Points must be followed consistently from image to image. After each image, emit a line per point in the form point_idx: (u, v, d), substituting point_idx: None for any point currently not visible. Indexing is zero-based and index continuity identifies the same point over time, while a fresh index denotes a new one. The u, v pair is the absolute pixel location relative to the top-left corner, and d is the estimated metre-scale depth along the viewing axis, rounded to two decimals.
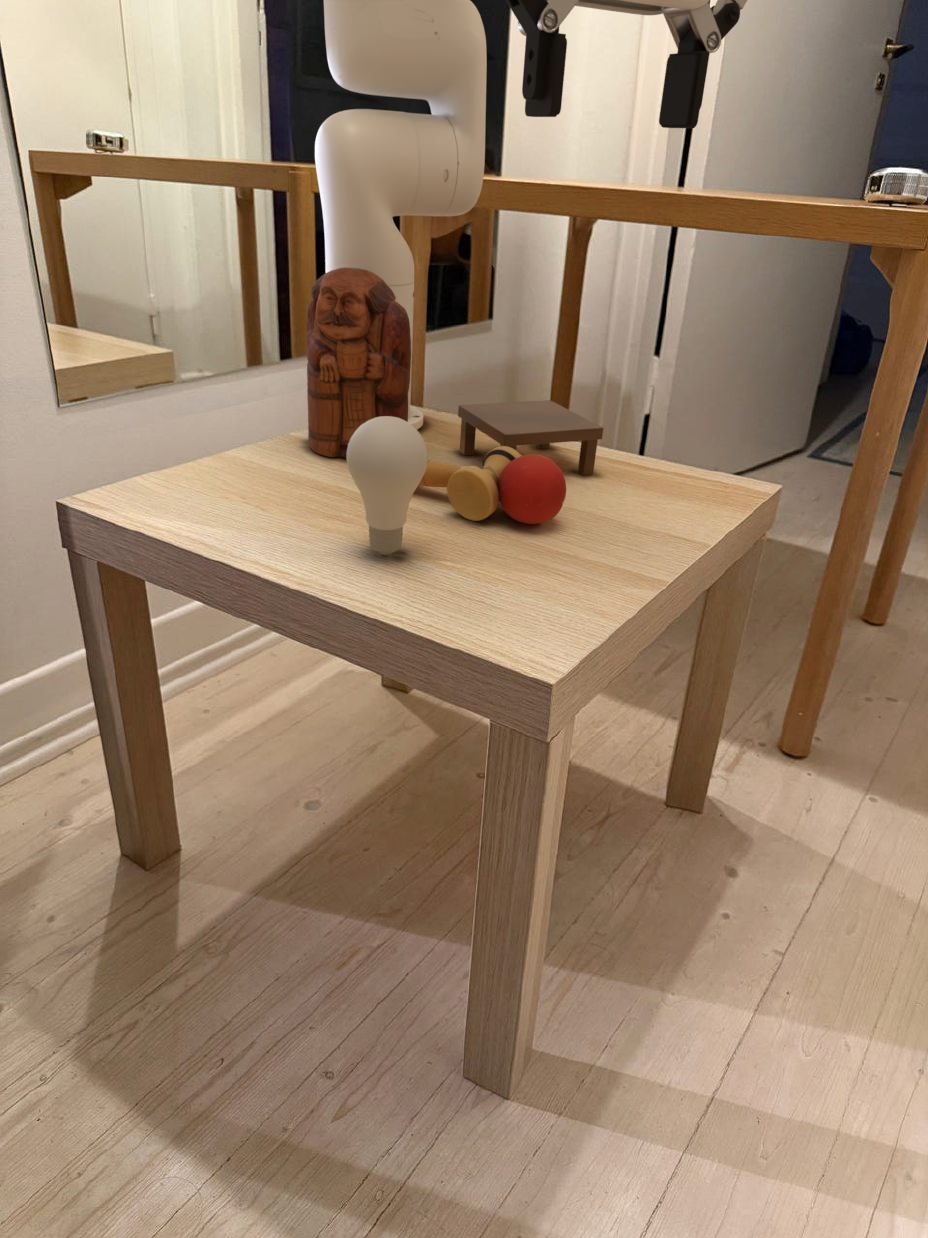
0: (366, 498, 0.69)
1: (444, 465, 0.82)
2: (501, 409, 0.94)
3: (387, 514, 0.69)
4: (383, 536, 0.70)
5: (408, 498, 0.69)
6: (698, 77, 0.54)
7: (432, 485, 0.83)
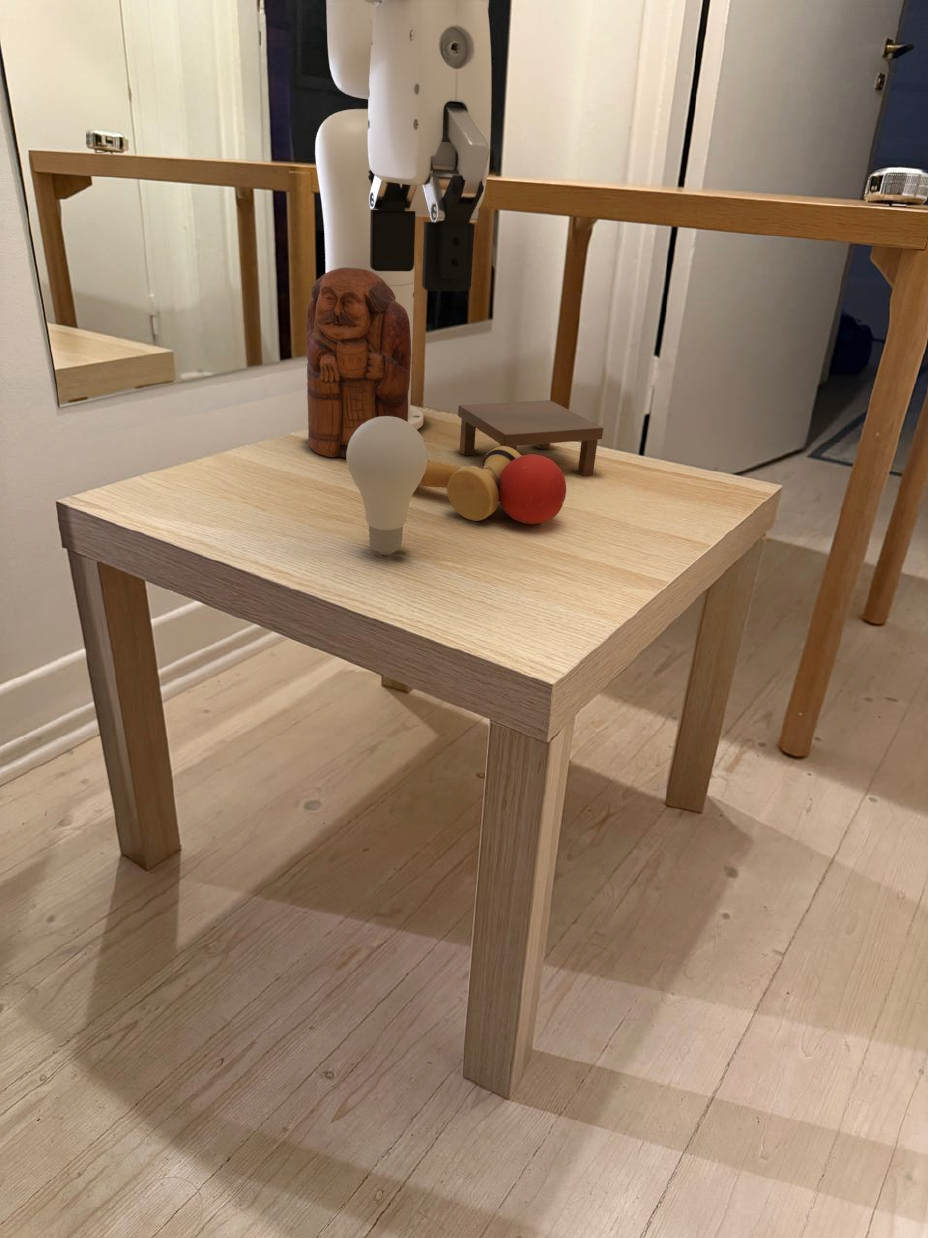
0: (366, 498, 0.69)
1: (444, 465, 0.82)
2: (501, 409, 0.94)
3: (387, 514, 0.69)
4: (383, 536, 0.70)
5: (408, 498, 0.69)
6: (424, 245, 0.56)
7: (432, 485, 0.83)
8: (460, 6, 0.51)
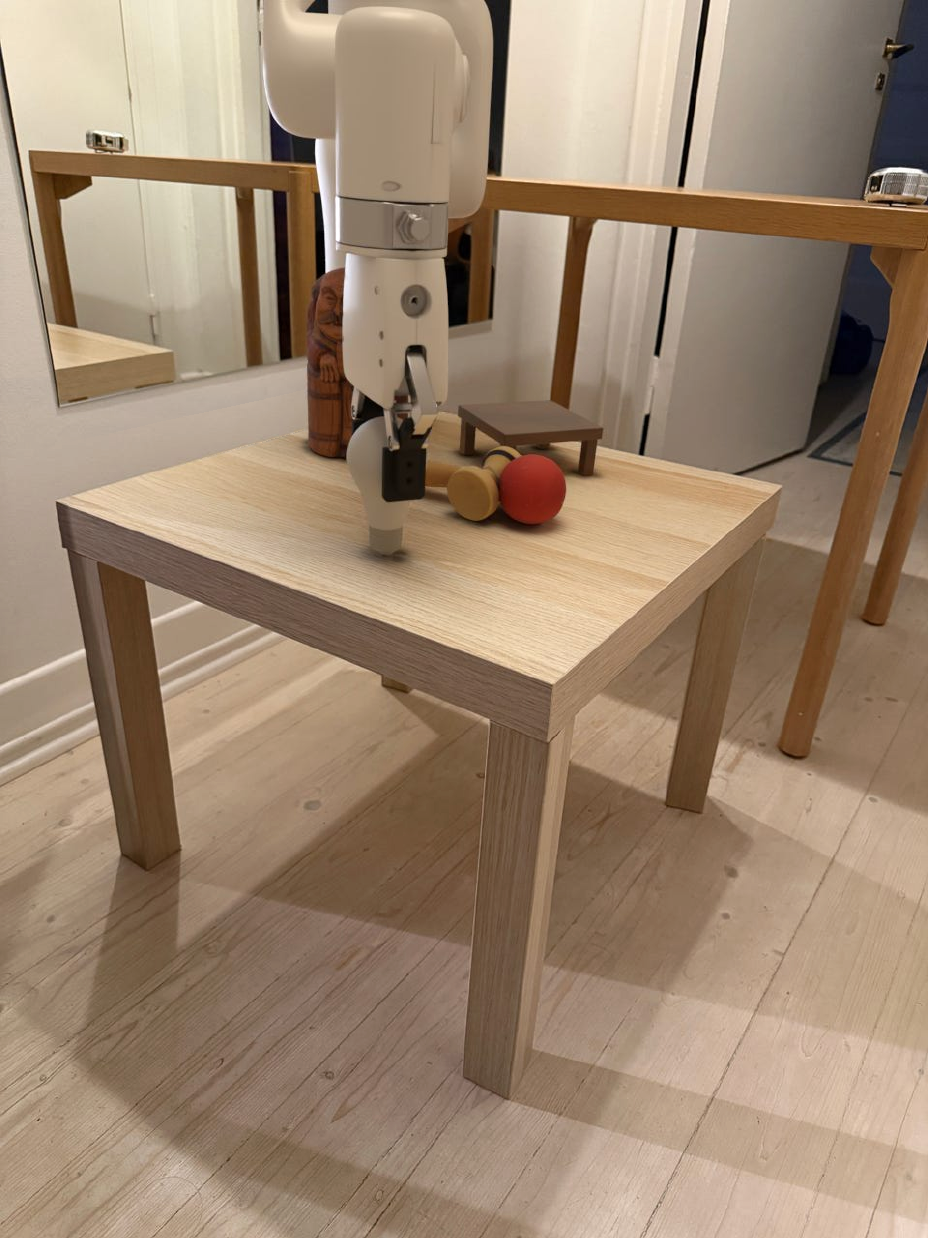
0: (366, 498, 0.69)
1: (444, 465, 0.82)
2: (501, 409, 0.94)
3: (387, 514, 0.69)
4: (383, 536, 0.70)
5: None
6: (383, 465, 0.65)
7: (432, 485, 0.83)
8: (419, 268, 0.58)
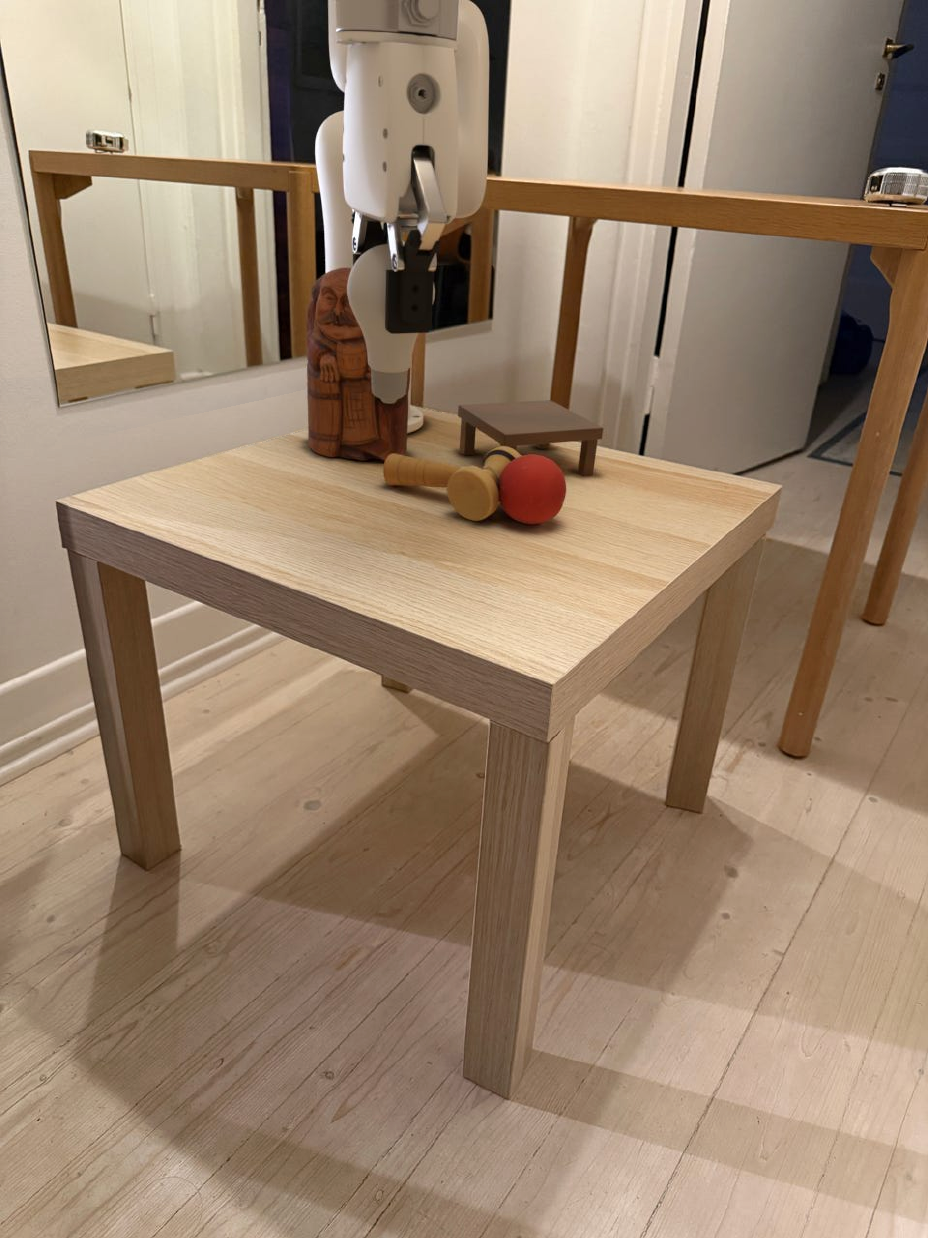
0: (368, 335, 0.64)
1: (444, 465, 0.82)
2: (501, 409, 0.94)
3: (390, 353, 0.64)
4: (386, 379, 0.65)
5: (413, 336, 0.64)
6: (386, 291, 0.60)
7: (432, 485, 0.83)
8: (427, 54, 0.53)
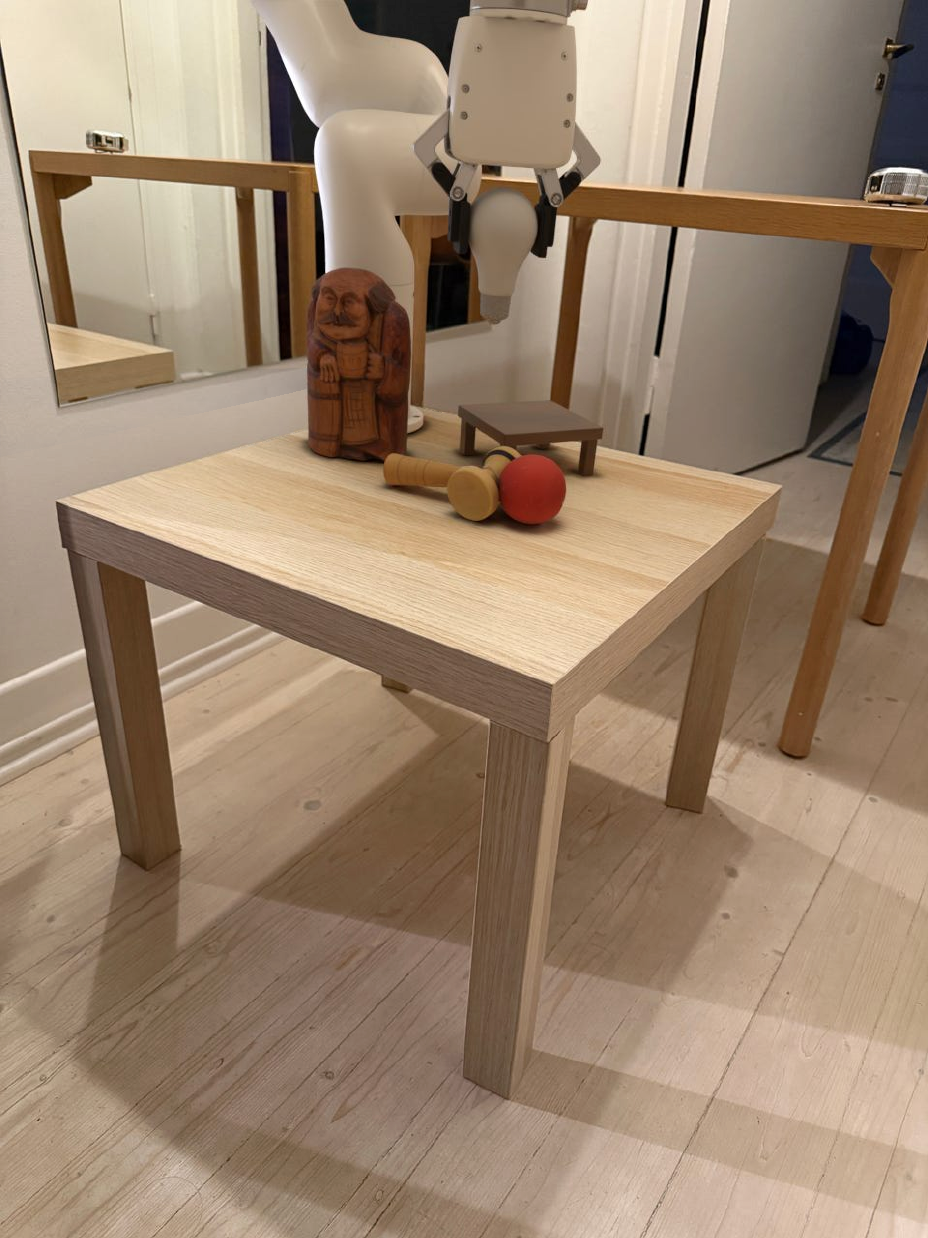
0: (510, 266, 0.76)
1: (444, 464, 0.82)
2: (501, 409, 0.94)
3: (516, 278, 0.78)
4: (509, 301, 0.79)
5: None
6: (544, 224, 0.75)
7: (432, 485, 0.83)
8: None
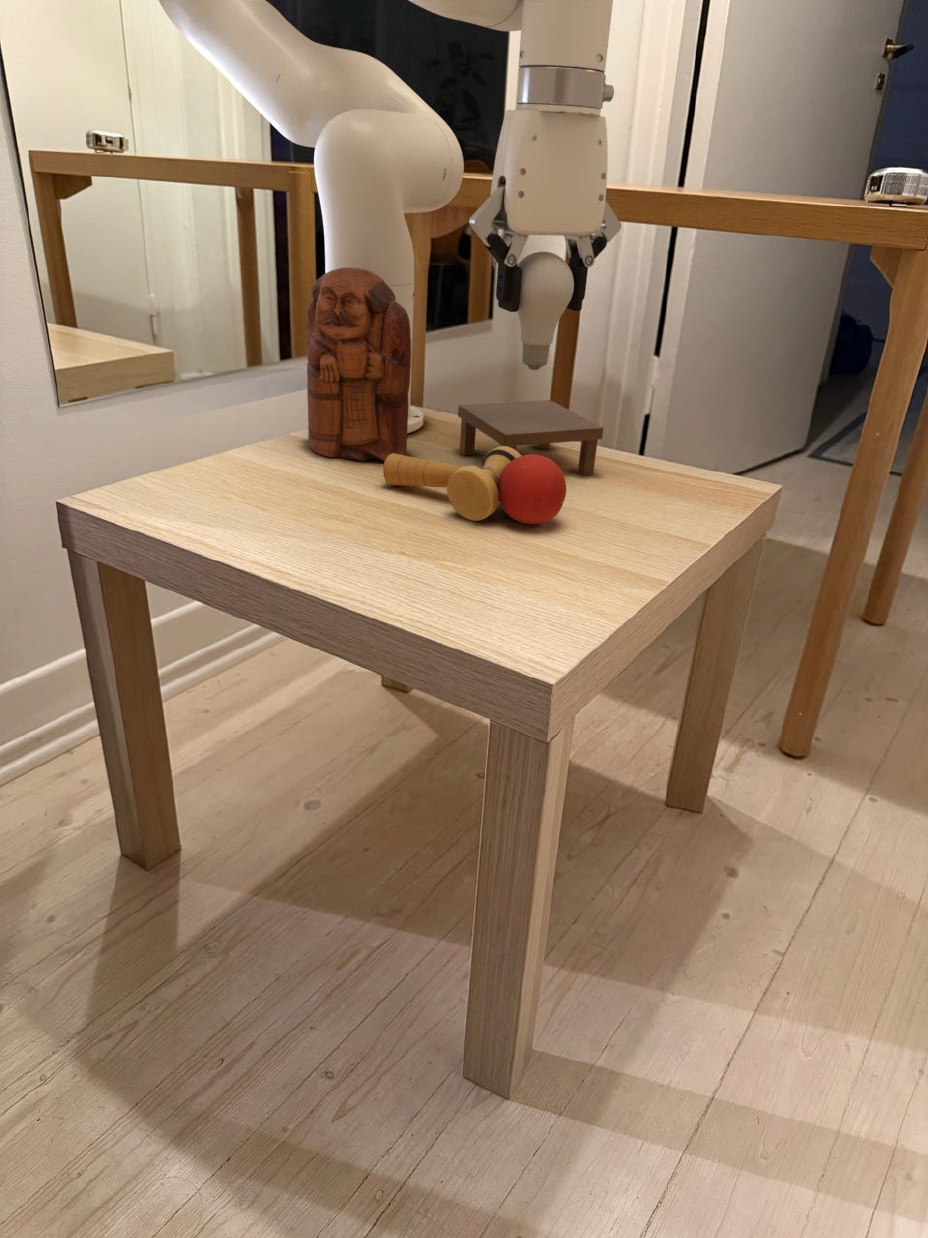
0: (554, 320, 0.87)
1: (444, 465, 0.82)
2: (501, 409, 0.94)
3: None
4: None
5: None
6: (580, 282, 0.87)
7: (432, 485, 0.83)
8: None
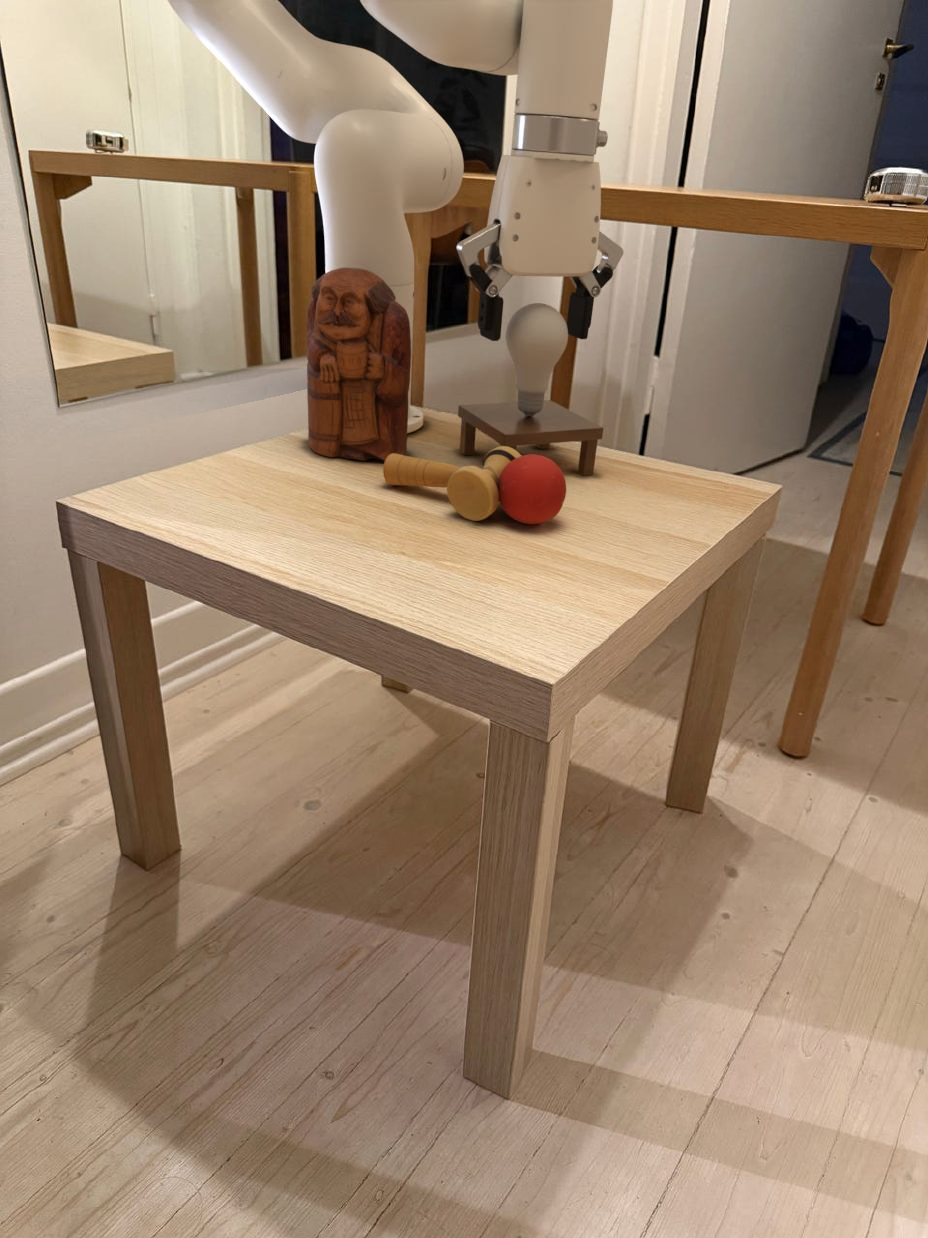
0: (548, 369, 0.89)
1: (444, 465, 0.82)
2: (501, 409, 0.94)
3: None
4: None
5: None
6: (586, 312, 0.89)
7: (432, 485, 0.83)
8: None
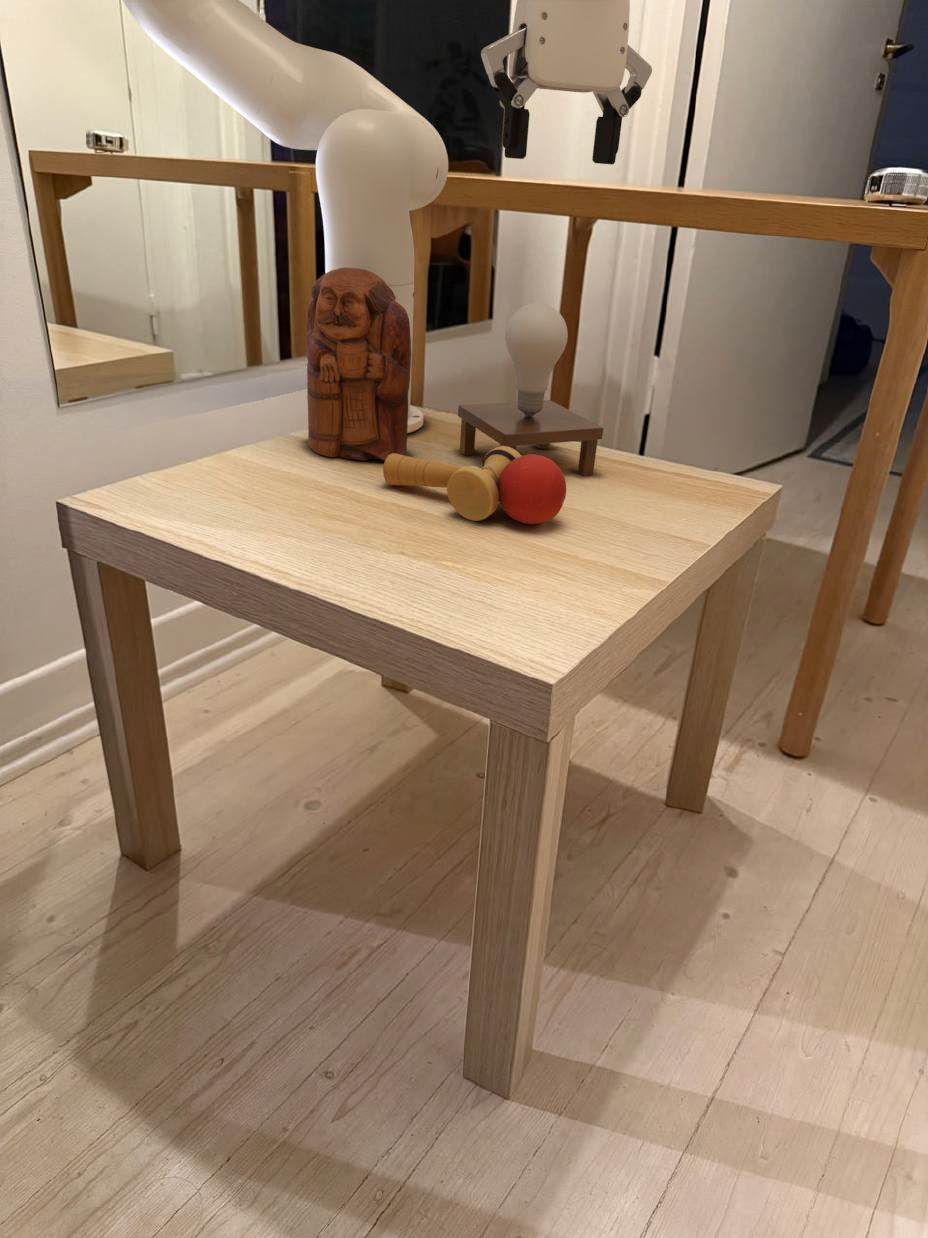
0: (548, 369, 0.89)
1: (444, 465, 0.82)
2: (501, 409, 0.94)
3: None
4: (543, 396, 0.92)
5: None
6: (614, 132, 0.86)
7: (432, 485, 0.83)
8: None
